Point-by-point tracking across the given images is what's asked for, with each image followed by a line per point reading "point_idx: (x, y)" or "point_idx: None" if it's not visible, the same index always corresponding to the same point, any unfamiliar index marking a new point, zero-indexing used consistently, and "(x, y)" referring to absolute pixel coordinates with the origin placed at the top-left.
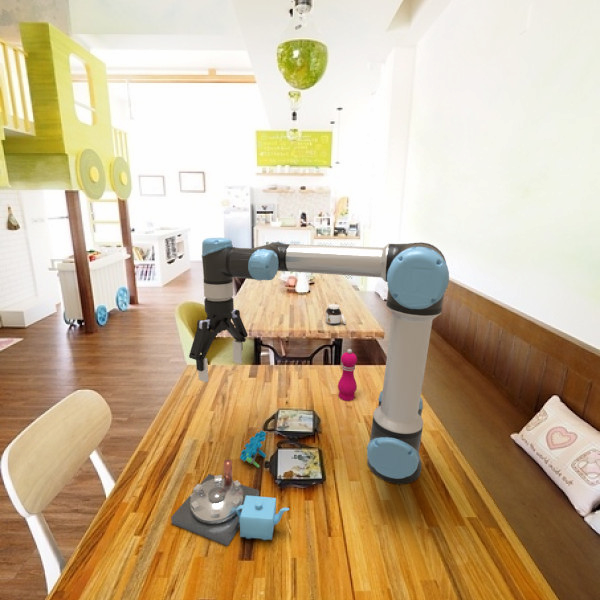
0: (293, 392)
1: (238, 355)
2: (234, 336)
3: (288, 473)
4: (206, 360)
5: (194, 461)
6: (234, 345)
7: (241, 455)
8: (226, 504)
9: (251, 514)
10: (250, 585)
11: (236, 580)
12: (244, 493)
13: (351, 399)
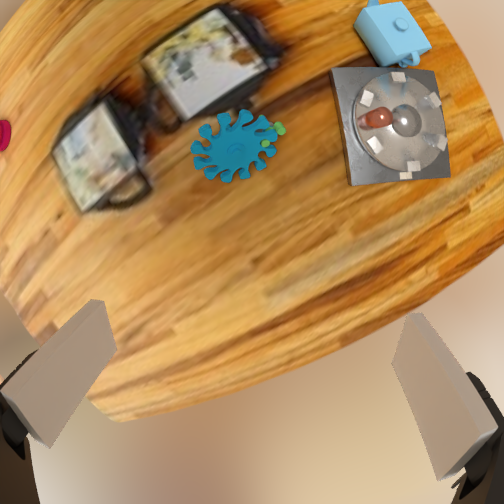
0: (34, 227)
1: (78, 344)
2: (20, 472)
3: (241, 58)
4: (481, 421)
5: (321, 248)
6: (56, 417)
7: (259, 167)
8: (407, 94)
9: (417, 32)
10: (440, 28)
11: (446, 44)
12: (354, 88)
13: (5, 120)
